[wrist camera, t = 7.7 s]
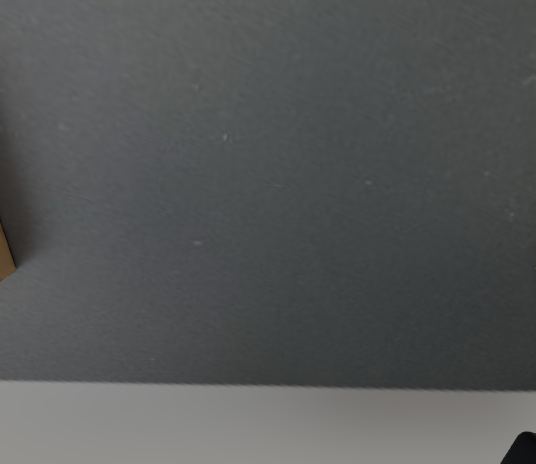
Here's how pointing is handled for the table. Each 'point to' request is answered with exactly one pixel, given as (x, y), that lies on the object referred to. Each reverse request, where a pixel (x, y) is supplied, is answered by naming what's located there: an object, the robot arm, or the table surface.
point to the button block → (5, 257)
